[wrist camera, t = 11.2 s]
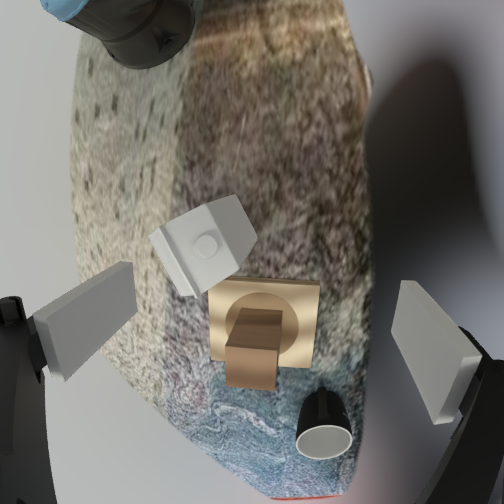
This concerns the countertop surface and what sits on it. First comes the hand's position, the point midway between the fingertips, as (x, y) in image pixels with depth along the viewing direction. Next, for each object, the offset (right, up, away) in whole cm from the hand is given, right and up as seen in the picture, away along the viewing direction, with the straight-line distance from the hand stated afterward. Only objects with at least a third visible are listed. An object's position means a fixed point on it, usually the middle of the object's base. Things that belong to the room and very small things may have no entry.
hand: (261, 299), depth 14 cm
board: (+1, -8, +33) cm, 34 cm away
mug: (+12, -23, +36) cm, 44 cm away
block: (+1, -9, +31) cm, 32 cm away
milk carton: (-4, +6, +31) cm, 32 cm away
